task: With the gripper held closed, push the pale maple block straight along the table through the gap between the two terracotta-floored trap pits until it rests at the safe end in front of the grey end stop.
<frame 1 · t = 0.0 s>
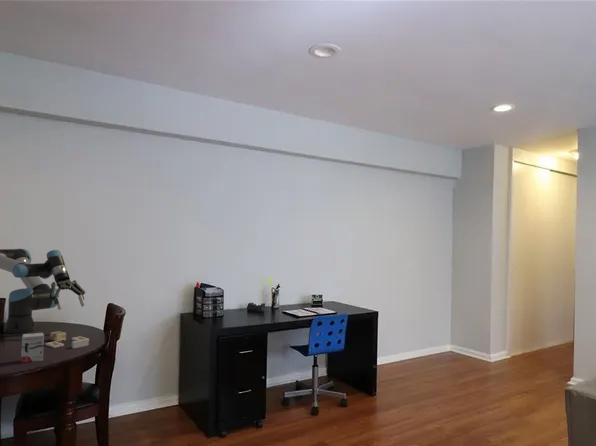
hand: (72, 307, 254), 15 cm above the table, tool tilted 35°, fingers open, 13 cm apart
trap pits: (67, 342, 237), on the table
end stop: (80, 346, 231), on the table
ink box: (32, 360, 206), on the table
maple block: (58, 340, 242), on the table
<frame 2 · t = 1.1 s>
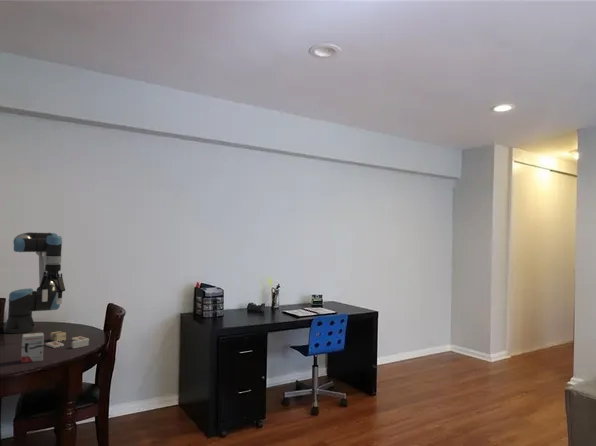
hand: (51, 302, 247), 19 cm above the table, tool pointing down, fingers open, 13 cm apart
nothing on the table moved.
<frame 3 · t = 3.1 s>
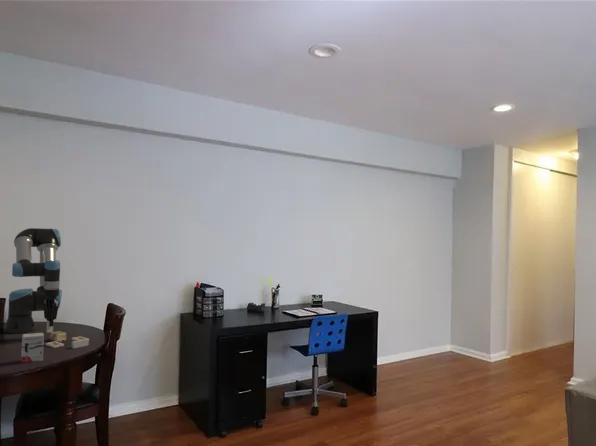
hand: (49, 332, 246), 3 cm above the table, tool pointing down, fingers closed
nothing on the table moved.
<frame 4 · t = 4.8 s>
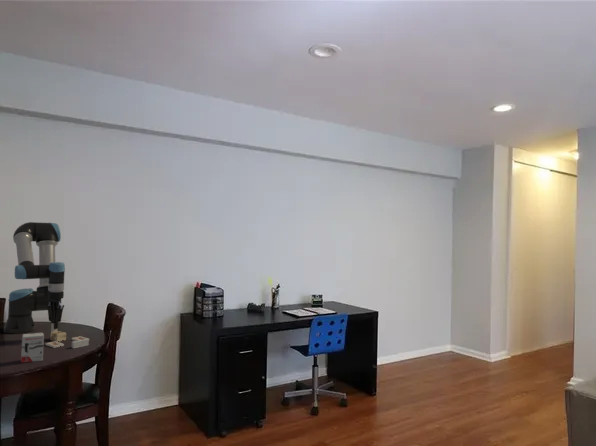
hand: (54, 334, 244), 2 cm above the table, tool pointing down, fingers closed
maple block: (58, 340, 242), on the table, touching gripper
everything else where it was.
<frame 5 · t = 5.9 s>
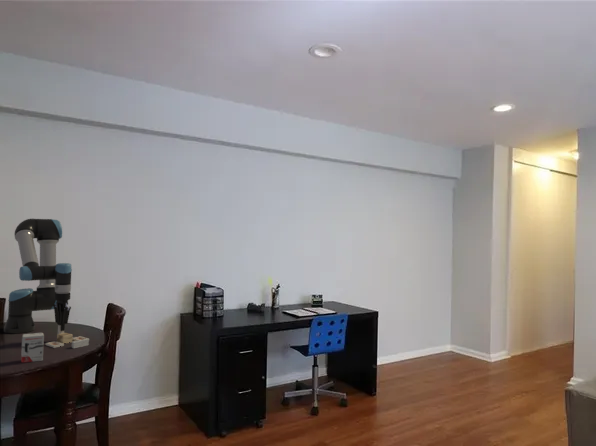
hand: (60, 336, 240), 2 cm above the table, tool pointing down, fingers closed
maple block: (64, 342, 238), on the table, touching gripper
everything else where it was.
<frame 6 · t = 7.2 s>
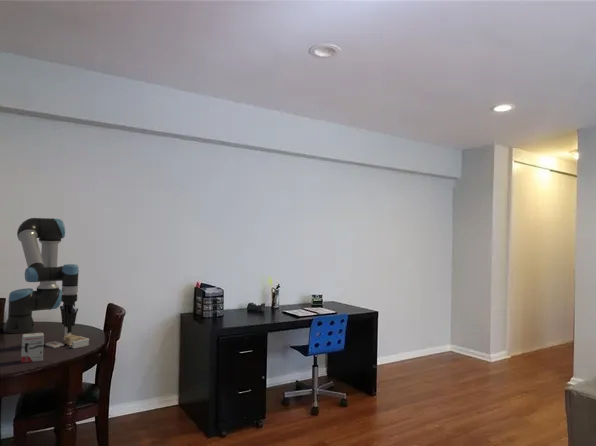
hand: (67, 338, 237), 2 cm above the table, tool pointing down, fingers closed
maple block: (71, 344, 235), on the table
everything else where it was.
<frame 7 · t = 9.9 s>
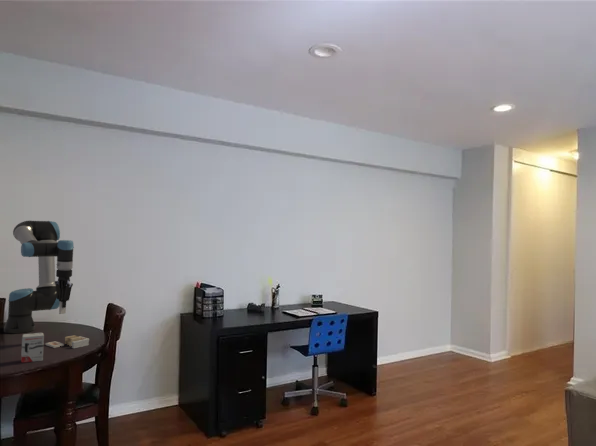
hand: (62, 313, 240), 15 cm above the table, tool pointing down, fingers closed
maple block: (72, 344, 234), on the table
everything else where it was.
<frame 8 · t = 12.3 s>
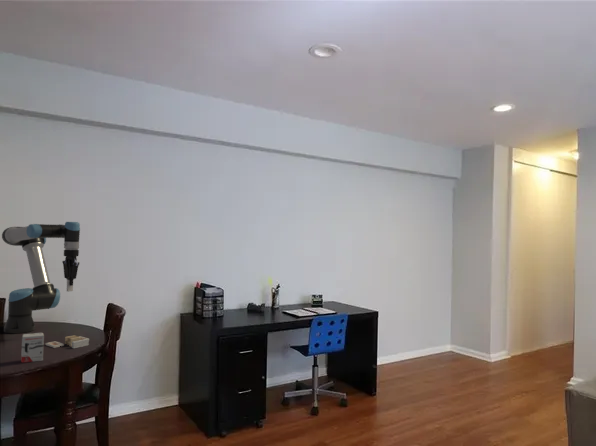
hand: (69, 291, 254), 24 cm above the table, tool pointing down, fingers closed
nothing on the table moved.
at the end: maple block inside the target area (1.0 cm from its centre), on the table; maple block touching table; maple block tilted 0° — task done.
